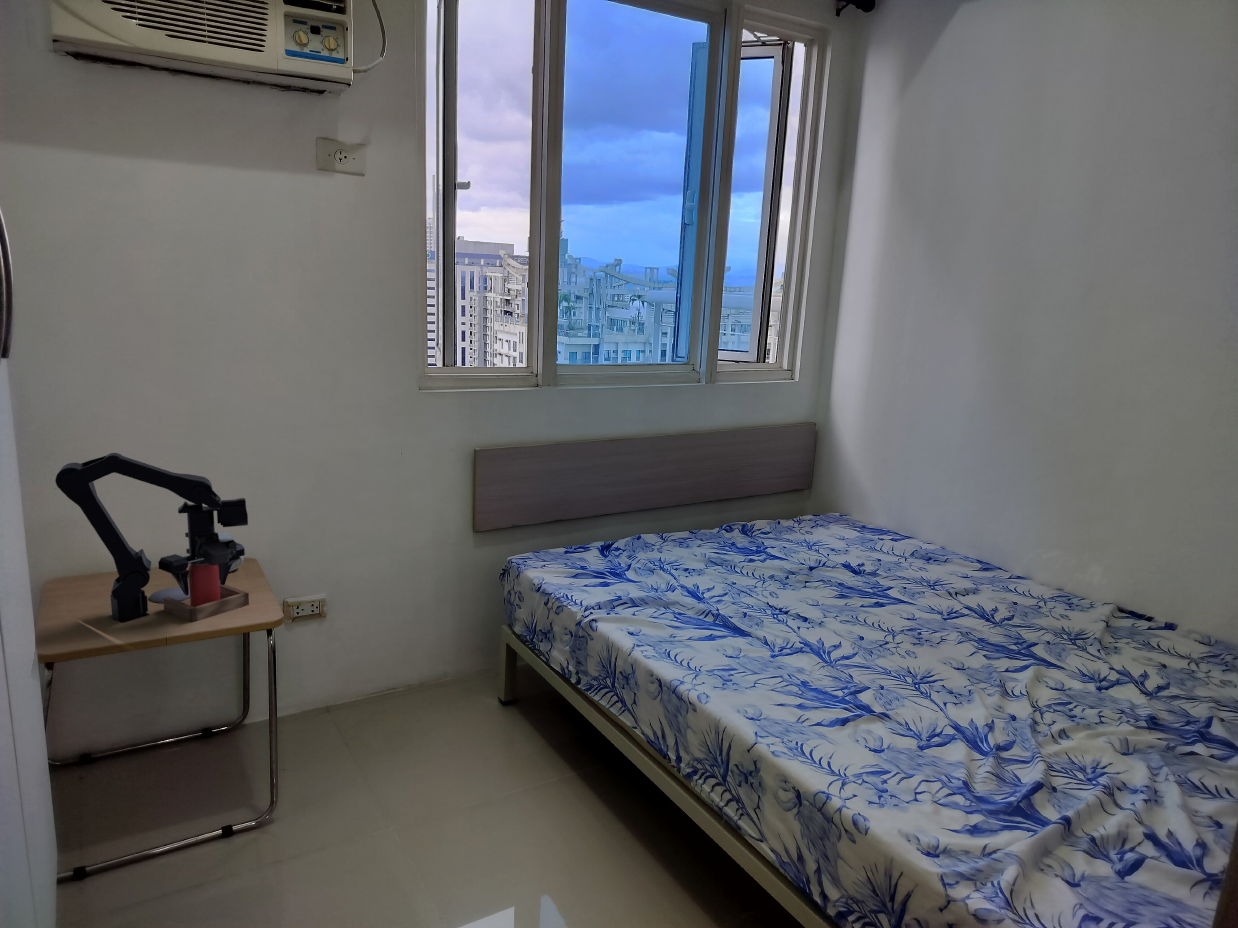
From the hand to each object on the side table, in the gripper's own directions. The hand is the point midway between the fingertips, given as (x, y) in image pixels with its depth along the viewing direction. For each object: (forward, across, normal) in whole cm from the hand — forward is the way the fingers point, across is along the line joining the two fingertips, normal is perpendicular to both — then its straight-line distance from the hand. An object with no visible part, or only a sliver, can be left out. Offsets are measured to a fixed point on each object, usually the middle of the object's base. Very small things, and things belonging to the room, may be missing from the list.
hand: (204, 589), depth 194 cm
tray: (+4, 0, 0) cm, 4 cm away
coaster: (+4, -1, +13) cm, 14 cm away
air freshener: (+5, +18, +22) cm, 29 cm away
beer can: (+5, 0, 0) cm, 5 cm away
